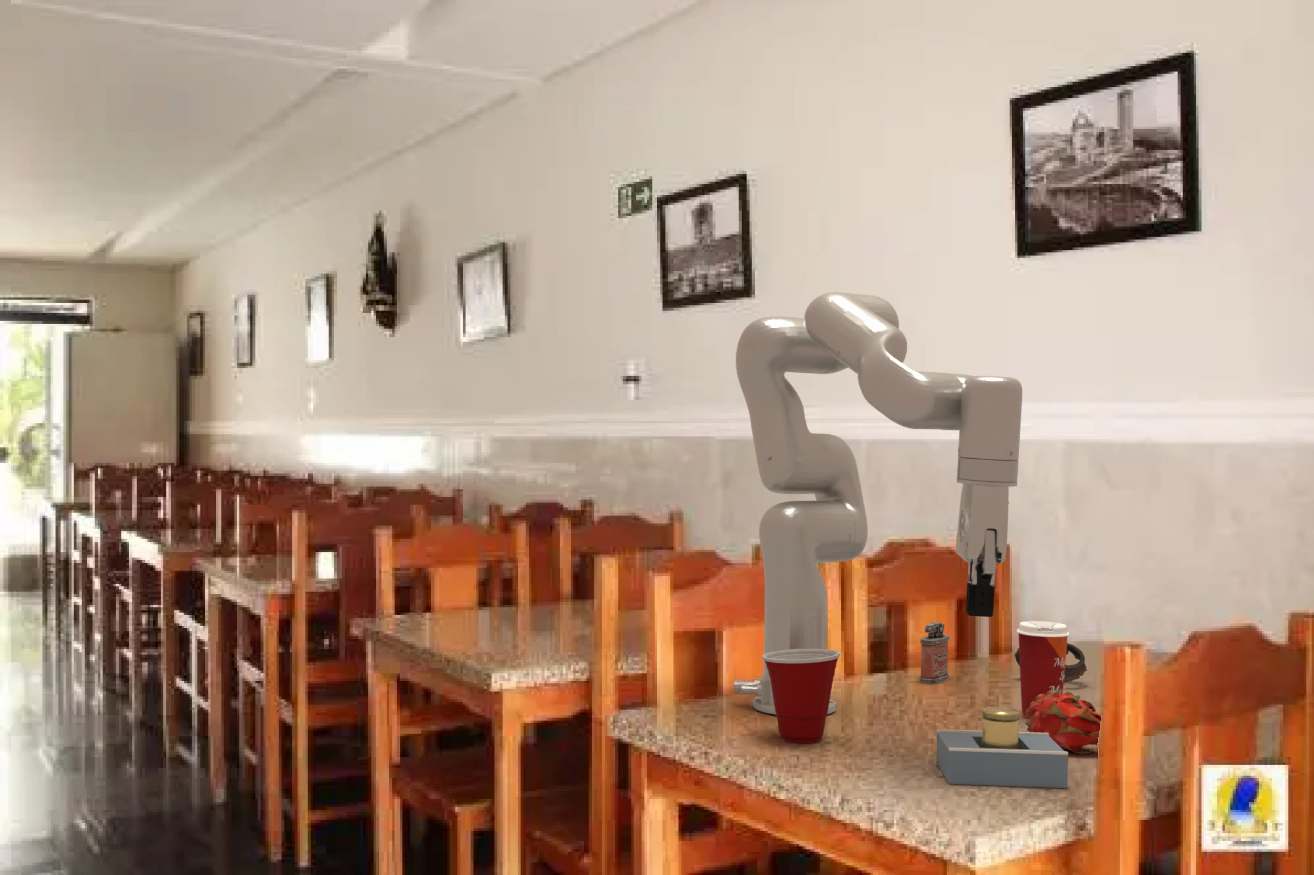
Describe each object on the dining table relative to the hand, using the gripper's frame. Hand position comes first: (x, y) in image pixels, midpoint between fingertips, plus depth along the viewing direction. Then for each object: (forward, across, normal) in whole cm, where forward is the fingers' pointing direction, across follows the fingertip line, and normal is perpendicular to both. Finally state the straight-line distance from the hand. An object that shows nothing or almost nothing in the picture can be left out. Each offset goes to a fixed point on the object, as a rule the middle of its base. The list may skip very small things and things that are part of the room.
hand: (979, 615), depth 164 cm
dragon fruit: (+19, -9, +14) cm, 26 cm away
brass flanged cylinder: (+19, +6, +2) cm, 20 cm away
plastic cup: (+20, -9, -22) cm, 31 cm away
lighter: (+21, -56, +3) cm, 60 cm away
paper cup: (+20, -29, +15) cm, 38 cm away
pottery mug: (+21, -57, +23) cm, 65 cm away
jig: (+19, +6, +2) cm, 20 cm away
